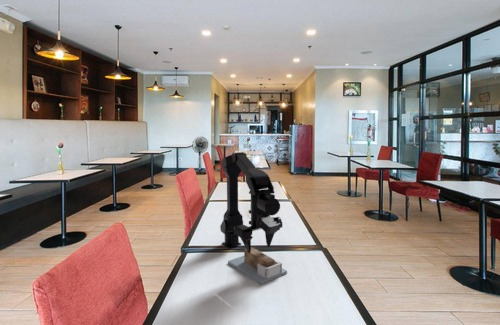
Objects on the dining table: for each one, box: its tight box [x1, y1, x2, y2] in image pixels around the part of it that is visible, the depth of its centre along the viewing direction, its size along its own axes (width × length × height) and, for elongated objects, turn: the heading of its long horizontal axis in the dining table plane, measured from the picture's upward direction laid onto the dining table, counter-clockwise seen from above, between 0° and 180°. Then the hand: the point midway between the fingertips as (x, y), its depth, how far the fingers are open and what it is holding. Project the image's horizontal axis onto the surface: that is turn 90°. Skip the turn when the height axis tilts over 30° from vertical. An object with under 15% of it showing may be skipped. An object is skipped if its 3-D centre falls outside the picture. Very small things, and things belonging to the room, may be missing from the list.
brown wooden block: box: [243, 246, 276, 270], centre depth 115 cm, size 14×4×5 cm, turn 35°
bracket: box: [227, 255, 288, 285], centre depth 116 cm, size 20×12×4 cm, turn 38°
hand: (258, 249), depth 114 cm, fingers open, 9 cm apart
